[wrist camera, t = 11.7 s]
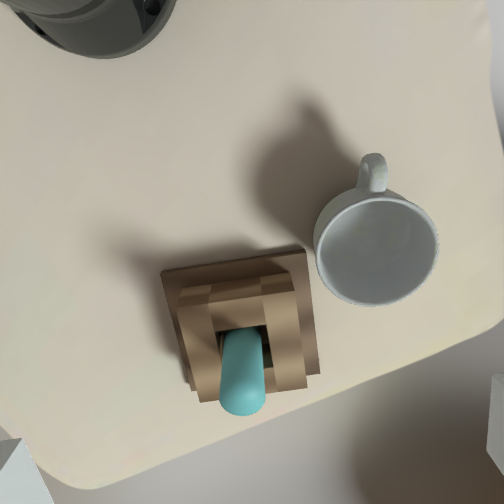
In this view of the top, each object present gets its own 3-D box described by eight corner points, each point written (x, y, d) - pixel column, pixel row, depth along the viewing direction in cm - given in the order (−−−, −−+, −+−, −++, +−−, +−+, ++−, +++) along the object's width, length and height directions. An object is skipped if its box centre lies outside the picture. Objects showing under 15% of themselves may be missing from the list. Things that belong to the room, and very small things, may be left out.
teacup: (392, 278, 44) (421, 314, 37) (297, 269, 44) (308, 304, 36) (424, 153, 40) (466, 165, 32) (318, 141, 39) (335, 151, 31)
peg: (222, 312, 45) (215, 381, 33) (257, 308, 44) (262, 375, 33) (228, 342, 46) (223, 418, 35) (262, 338, 46) (268, 412, 34)
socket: (162, 270, 44) (150, 293, 39) (305, 249, 43) (312, 269, 38) (192, 385, 49) (186, 418, 44) (318, 368, 49) (327, 399, 44)
